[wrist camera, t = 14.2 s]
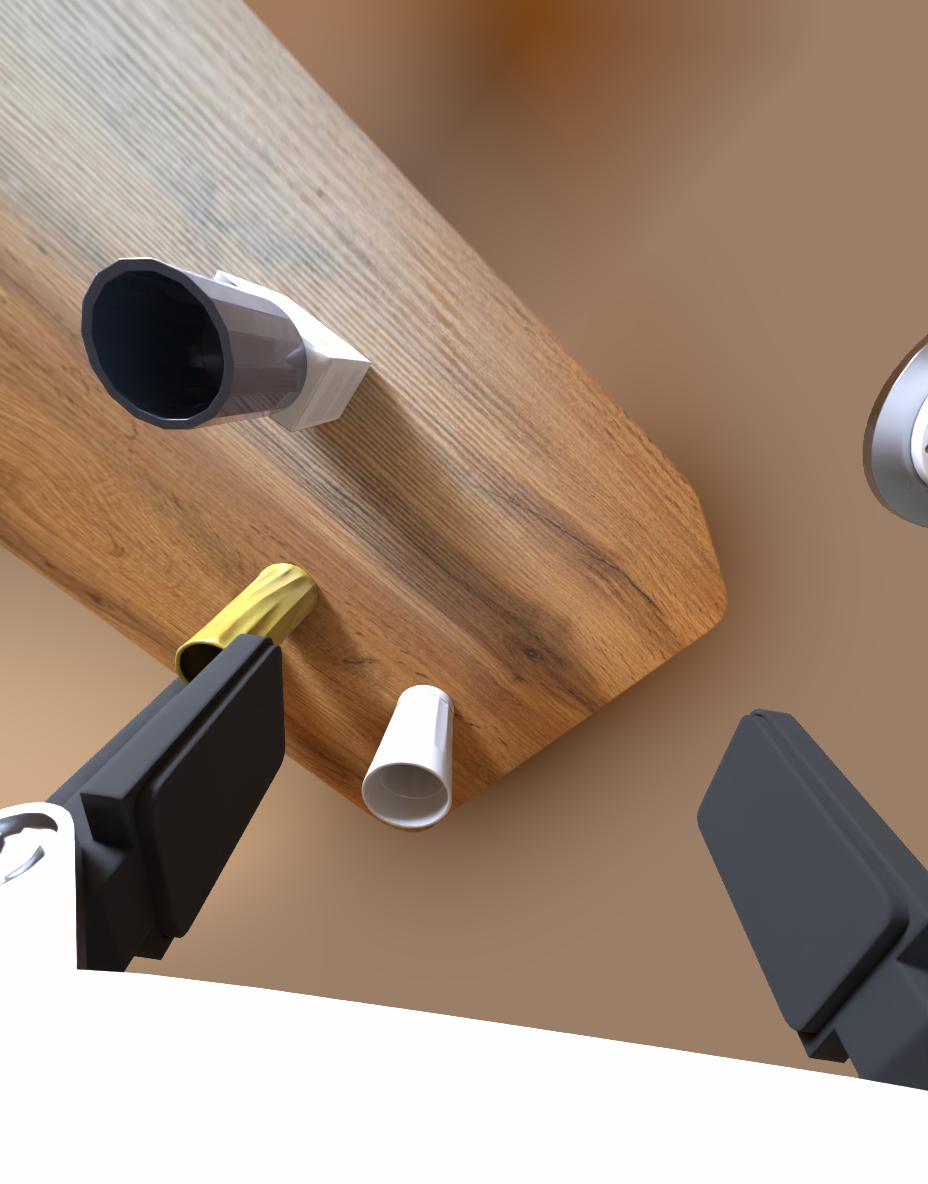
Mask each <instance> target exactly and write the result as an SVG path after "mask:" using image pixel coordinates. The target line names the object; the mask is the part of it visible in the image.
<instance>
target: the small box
mask: <svg viewBox="0 0 928 1184" xmlns="http://www.w3.org/2000/svg"><path fill="white" fill-rule="evenodd" d="M215 280H218V281H221V282H224V283H227V284H230V285H233V286H236V287H239V288H241V289H244V290H247V291H250V292H252V293H255V294H257V295H259V296H262V297H264V298H266V299H268V300H270V301H272V302H273V303H275V304H276V305H278V306H279V307H280V308H281V309H282V310H283V311H284V312H285V313H286V314H287V315H288V316H289V317H290V318H291V320H292V321H293V322H294V324H295V325H296V327H297V329H298V331H299V333H300V335H301V337H302V340H303V343H304V346H305V350H306V355H307V375H306V380H305V384H304V387H303V389H302V391H301V393H300V395H299V396H298V398H297V399H296V400H295V401H294V403H293V404H291V405H290V406H289V407H288V408H286V409H285V410H283V411H281V412H278V413H276V414H272V415H270V416H269V417H270V418H272V419H273V420H275V421H276V422H277V423H279V424H280V425H282V426H283V427H284V428H286V429H287V430H288V431H290V432H295V431H298V430H302V429H305V428H309V427H312V426H316V425H319V424H323V423H326V422H330V421H333V420H337V419H339V417H340V416H341V414H342V413H343V411H344V409H345V408H346V406H347V404H348V403H349V401H350V399H351V398H352V396H353V394H354V392H355V391H356V389H357V387H358V386H359V384H360V382H361V380H362V379H363V377H364V375H365V374H366V372H367V370H368V368H369V367H370V365H371V362H370V361H369V360H367V359H366V358H365V357H363V356H362V355H361V354H360V353H358V352H357V351H356V350H354V349H353V348H352V347H351V346H349V345H348V344H347V343H345V342H344V341H343V340H342V339H340V338H339V337H338V336H336V335H335V334H334V333H333V332H331V331H330V330H329V329H327V328H326V327H325V326H324V325H322V324H321V323H320V322H318V321H317V320H316V319H315V318H313V317H312V316H311V315H309V314H308V313H307V312H306V311H304V310H303V309H302V308H300V307H299V306H298V305H297V304H295V303H294V302H293V301H292V300H290V299H289V298H288V297H286V296H284V295H281V294H279V293H277V292H274V291H271V290H269V289H266V288H264V287H261V286H258V285H256V284H253V283H251V282H248V281H245V280H242V279H239V278H237V277H234V276H232V275H229V274H227V273H224V272H222V271H217V274H216V276H215Z"/></svg>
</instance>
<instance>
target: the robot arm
mask: <svg viewBox="0 0 928 1184" xmlns="http://www.w3.org/2000/svg"><path fill="white" fill-rule="evenodd" d="M911 455H912V459H913V463H914V467H915V469H916V471H917V473H918V475H919V476H920V478H921V479H922V480H923V481H924V482H925V483H926V484H927V485H928V398H927V399H926V401H925V403H924V404H923V406H922V408H921V410H920V412H919V415H918V417H917V420H916V422H915V425H914V430H913V435H912V439H911ZM284 754H285V729H284V703H283V677H282V653H281V648H280V647H279V646H275V645H274V643H273V640H272V639H271V638H270V637H264V636H257V635H250V634H239V635H238V636H237V637H236V638H235V639H234V640H233V641H232V642H231V643H230V644H229V645H228V646H227V647H226V648H225V649H224V650H223V651H222V652H221V653H220V654H219V655H218V656H217V657H216V658H215V659H214V660H213V661H211V662H210V663H209V664H208V665H207V666H206V667H205V668H204V669H203V670H202V671H201V672H200V673H199V674H198V675H197V676H196V677H195V678H194V679H193V680H192V681H191V682H190V683H189V684H188V685H187V686H186V687H185V688H184V689H183V690H182V691H181V692H180V693H179V694H177V695H176V696H175V697H173V698H172V699H171V700H170V701H169V702H168V703H167V704H166V705H165V706H164V707H163V708H162V709H161V710H160V711H159V712H158V713H157V714H156V715H155V716H154V717H152V718H151V719H150V720H149V721H148V722H147V723H146V724H145V725H144V726H143V727H142V728H141V729H140V730H139V731H138V732H137V733H136V734H135V735H134V736H133V737H132V738H131V739H130V740H129V741H128V742H127V743H126V744H125V745H124V746H123V747H122V748H121V749H120V750H119V751H118V752H117V753H116V754H115V755H114V756H113V757H112V758H111V759H110V760H109V761H108V762H107V763H106V764H105V765H104V766H103V767H102V768H101V769H100V770H99V771H98V772H97V773H96V774H95V775H94V776H93V777H92V778H91V779H90V780H89V781H87V782H86V783H85V784H84V785H83V786H82V787H81V788H80V789H79V790H78V791H77V792H76V793H75V794H74V795H73V796H72V797H71V798H70V799H69V800H68V801H67V802H66V803H65V804H64V805H63V806H62V807H61V806H58V805H53V804H49V803H27V804H23V805H18V806H14V807H10V808H5V809H3V810H0V1184H928V871H927V870H926V869H925V868H924V867H923V865H922V864H921V863H920V862H919V861H918V860H917V859H916V857H915V856H914V855H913V854H912V853H911V852H910V851H909V849H908V848H907V847H906V846H905V845H904V844H903V842H902V841H901V840H900V839H899V838H898V837H897V835H896V834H895V833H894V832H893V831H892V830H891V829H890V827H889V826H888V825H887V824H886V823H885V822H884V821H883V819H882V818H881V817H880V816H879V815H878V814H877V813H876V811H875V810H874V809H873V808H872V807H871V806H870V805H869V803H868V802H867V801H866V800H865V799H864V798H863V796H862V795H861V794H860V793H859V792H858V791H857V790H856V788H855V787H854V786H853V785H852V784H851V783H850V781H849V780H848V779H847V778H846V777H845V776H844V775H843V773H842V772H841V771H840V770H839V769H838V768H837V767H836V765H835V764H834V763H833V762H832V761H831V760H830V758H829V757H828V756H827V755H826V754H825V753H824V752H823V750H822V749H821V748H820V747H819V746H818V745H817V744H816V742H815V741H814V740H813V739H812V738H811V737H810V735H809V734H808V733H807V732H806V731H805V730H804V729H803V727H802V726H801V725H800V724H799V723H798V722H797V721H796V719H795V718H794V717H793V716H791V715H790V714H787V713H783V712H776V711H769V710H762V709H756V710H754V711H752V712H751V713H750V715H745V716H744V717H742V719H741V720H740V723H739V725H738V727H737V729H736V731H735V733H734V735H733V737H732V739H731V742H730V744H729V746H728V748H727V750H726V752H725V754H724V756H723V758H722V761H721V763H720V765H719V767H718V769H717V771H716V773H715V775H714V778H713V780H712V782H711V784H710V786H709V788H708V790H707V792H706V794H705V796H704V799H703V801H702V803H701V805H700V807H699V810H698V815H697V819H698V826H699V829H700V831H701V833H702V836H703V838H704V840H705V842H706V845H707V847H708V849H709V851H710V854H711V856H712V858H713V860H714V863H715V865H716V867H717V869H718V871H719V874H720V876H721V878H722V881H723V883H724V885H725V887H726V890H727V891H728V894H729V896H730V898H731V901H732V903H733V905H734V908H735V910H736V912H737V914H738V916H739V919H740V921H741V923H742V925H743V928H744V930H745V932H746V934H747V937H748V939H749V941H750V943H751V946H752V947H753V950H754V952H755V955H756V957H757V959H758V961H759V964H760V966H761V968H762V970H763V972H764V975H765V977H766V979H767V981H768V984H769V986H770V988H771V990H772V993H773V995H774V997H775V999H776V1002H777V1004H778V1006H779V1008H780V1011H781V1013H782V1015H783V1017H784V1019H785V1021H786V1022H787V1023H788V1025H789V1026H790V1027H791V1028H792V1029H794V1030H796V1031H797V1032H798V1035H799V1037H800V1039H801V1041H802V1044H803V1046H804V1048H805V1050H806V1052H807V1054H808V1057H809V1058H814V1059H821V1060H828V1061H835V1062H841V1063H844V1062H845V1061H846V1060H847V1059H848V1058H849V1057H850V1059H851V1061H852V1063H853V1065H854V1067H855V1069H856V1071H857V1072H858V1075H859V1077H858V1079H857V1078H851V1077H845V1076H838V1075H831V1074H825V1073H819V1072H813V1071H806V1070H800V1069H793V1068H787V1067H780V1066H775V1065H768V1064H762V1063H755V1062H749V1061H742V1060H736V1059H730V1058H724V1057H717V1056H710V1055H704V1054H698V1053H691V1052H685V1051H679V1050H673V1049H666V1048H659V1047H652V1046H646V1045H639V1044H633V1043H625V1042H619V1041H613V1040H607V1039H599V1038H593V1037H587V1036H580V1035H574V1034H567V1033H560V1032H554V1031H546V1030H540V1029H534V1028H527V1027H520V1026H514V1025H507V1024H500V1023H494V1022H487V1021H480V1020H474V1019H467V1018H460V1017H453V1016H447V1015H440V1014H433V1013H426V1012H419V1011H412V1010H406V1009H399V1008H391V1007H385V1006H378V1005H370V1004H364V1003H357V1002H350V1001H344V1000H337V999H329V998H323V997H315V996H308V995H302V994H295V993H288V992H281V991H274V990H268V989H260V988H252V987H244V986H236V985H228V984H220V983H212V982H204V981H195V980H188V979H179V978H172V977H164V976H156V975H147V974H136V973H124V971H125V970H126V968H127V966H128V965H129V963H130V962H131V960H132V958H133V957H134V956H137V957H145V958H151V959H157V960H161V959H162V958H163V956H164V954H165V952H166V951H167V949H168V947H169V945H170V944H171V942H172V940H173V939H174V937H177V938H181V937H183V936H184V935H185V934H186V933H187V932H188V930H189V928H190V927H191V925H192V923H193V921H194V920H195V918H196V916H197V915H198V913H199V911H200V909H201V907H202V906H203V904H204V902H205V900H206V898H207V897H208V895H209V893H210V891H211V890H212V888H213V886H214V884H215V883H216V881H217V879H218V877H219V875H220V874H221V872H222V870H223V868H224V866H225V865H226V863H227V861H228V859H229V857H230V855H231V854H232V852H233V850H234V849H235V847H236V845H237V843H238V841H239V840H240V838H241V836H242V834H243V832H244V831H245V829H246V827H247V825H248V824H249V822H250V820H251V818H252V816H253V814H254V813H255V811H256V809H257V807H258V805H259V804H260V802H261V800H262V798H263V797H264V795H265V793H266V791H267V790H268V788H269V786H270V784H271V782H272V781H273V779H274V777H275V775H276V773H277V772H278V770H279V768H280V766H281V764H282V761H283V758H284Z"/></svg>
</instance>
